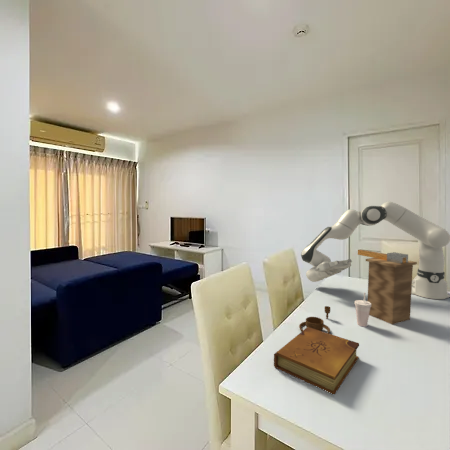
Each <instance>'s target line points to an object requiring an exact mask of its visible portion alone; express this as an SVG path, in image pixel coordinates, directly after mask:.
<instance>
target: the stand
mask: <svg viewBox="0 0 450 450" xmlns="http://www.w3.org/2000/svg"><path fill="white" fill-rule="evenodd" d="M365 262H367V263H368V276H367V277H368V280H367V301H368V302H370V303H371V307H370V312H369V317H370V316H371V317H373V318H375V319H378V320H380V321H383V322H386V323H388V324H390V325H392V326H393V325H396V324H400V323H403V322H406V321H410V320H411V309H412V294H411V290H412V285H413V284H412V280H413V269H414V268H413V267H414V266H416V265H418V262H417V261H412V260H408V263H402V264H399V263H394V262H389V261H387V260H382V259H377V258H372V257H368V258H365Z"/></svg>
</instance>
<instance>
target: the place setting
mask: <svg viewBox="0 0 450 450" xmlns="http://www.w3.org/2000/svg"><path fill="white" fill-rule="evenodd" d="M324 313H325V319H326V320H329V314H330V313H331V307H330V306H327V305H325V306H324ZM324 323H325V321H324V320H323V319H322V318H320V317H318V316H317V317H316V316H309V317H308V316H307V317H306V318H305V321H302V322H301V323H299V326H298V327H299V331H301V332H302V331H303V330H304V329H302V328H303V327H304V326H305V327H306V328H307V327H310V328H313V329H316V330H319V331H323V329H325V330H326V331H327V333H328V334H331V328H330V327H329V326H328V325H327V324H324Z"/></svg>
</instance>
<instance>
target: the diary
mask: <svg viewBox="0 0 450 450" xmlns="http://www.w3.org/2000/svg"><path fill="white" fill-rule="evenodd" d="M302 330H303V331H301V332H299V334H297V335H296V336H294V337H293V338H292V339H290V340H289V341H288V342H287V343H286V344H285V345H283V346H282V347H281V348H280V349H278V350H277V351H276V352H275V353H274V354H273V367H274V368H276V369H278V370H279V371H281V372H284V373H285V374H288V375H290V376H293V377H294V378H297V379H299V380H300V381H303V382H305V383H308V384H309V383H310V385H312V386H314V387H316V386H317V388H318V387H319V388H318V389H320V388H321V390H322V389H324V390H323V391H325V390H326V391H325V392H327V391H328V392H327V393H329V392H330V394H331V393H332V394H331V395H333V394H336V393H337V392H336V391H338V390H339V389H340V387H341V386H342V384H343V382H344V381H345V379H346V378H347V377H348V375H349V374H350V371H351V370H352V369H353V367H354V366H355V364H356V363H357V362H358V360H359V357H360V356H357V349H358V348H359V346H360V342H356V341H353V340H351V339H347V338H343V337H340V336H337V335H334V334H332V333H329V334H328V332H325V331H323V330H321V331H319V330H316V329H313V328H310V327H306V328H304V329H302ZM340 385H341V386H340ZM338 388H339V389H338Z"/></svg>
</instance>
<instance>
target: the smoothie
mask: <svg viewBox="0 0 450 450" xmlns="http://www.w3.org/2000/svg"><path fill="white" fill-rule="evenodd" d="M354 305H355V312H356V313H355V314H356V323H357V325H358V326H360V327H365V328H366V327H367V326H368V322H369V318H370V315H369V312H370V307H371V303H370V302H368V300H366V292H365V291H364V292H363V299H356V300H354Z"/></svg>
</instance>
